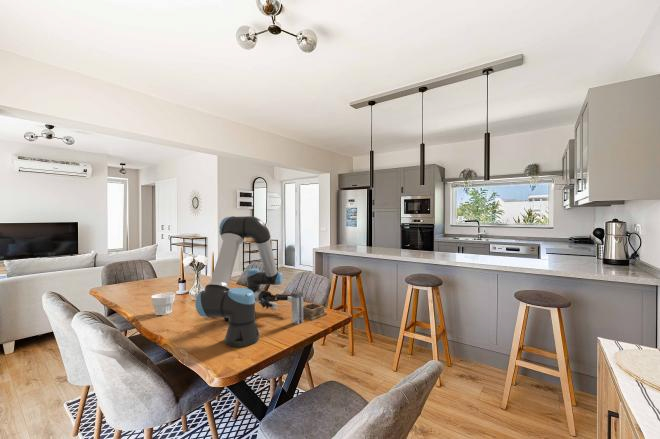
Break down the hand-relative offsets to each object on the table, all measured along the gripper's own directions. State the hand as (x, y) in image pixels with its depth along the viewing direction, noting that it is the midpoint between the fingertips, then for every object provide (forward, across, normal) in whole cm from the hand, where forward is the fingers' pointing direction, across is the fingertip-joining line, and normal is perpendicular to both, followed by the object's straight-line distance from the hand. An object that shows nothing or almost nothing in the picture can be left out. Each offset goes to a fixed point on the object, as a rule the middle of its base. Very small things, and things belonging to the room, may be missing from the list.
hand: (286, 303), depth 162 cm
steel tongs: (+9, 0, -8) cm, 12 cm away
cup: (-64, +40, -9) cm, 76 cm away
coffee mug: (-25, +21, -9) cm, 34 cm away
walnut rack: (+7, -13, -8) cm, 17 cm away
